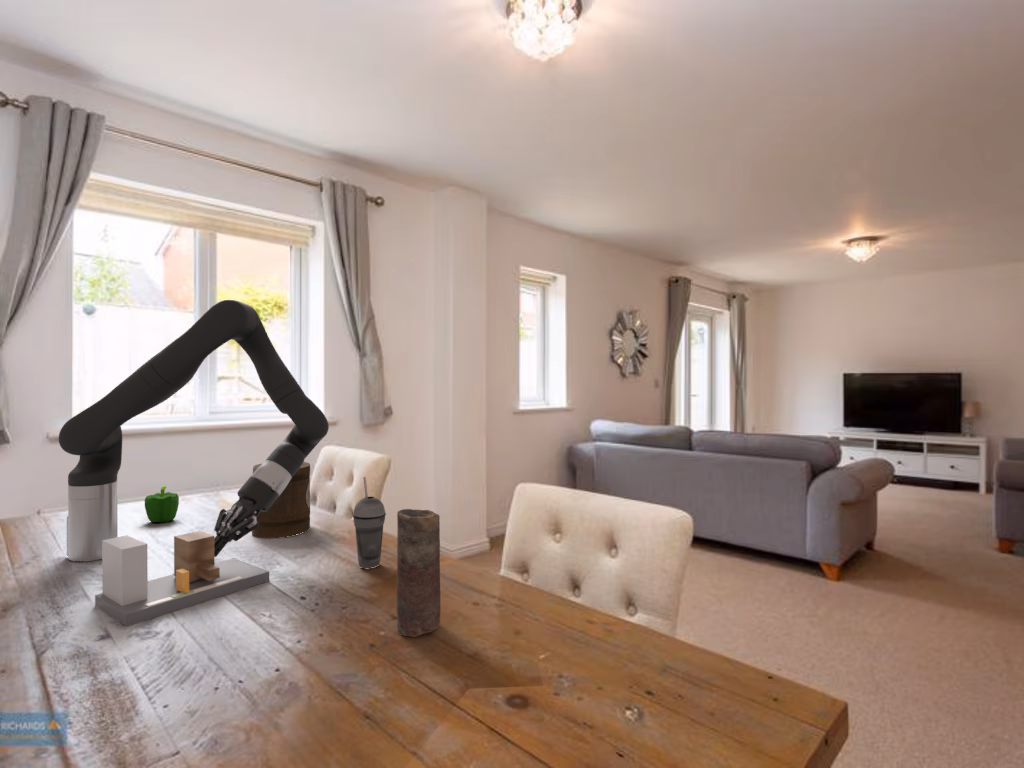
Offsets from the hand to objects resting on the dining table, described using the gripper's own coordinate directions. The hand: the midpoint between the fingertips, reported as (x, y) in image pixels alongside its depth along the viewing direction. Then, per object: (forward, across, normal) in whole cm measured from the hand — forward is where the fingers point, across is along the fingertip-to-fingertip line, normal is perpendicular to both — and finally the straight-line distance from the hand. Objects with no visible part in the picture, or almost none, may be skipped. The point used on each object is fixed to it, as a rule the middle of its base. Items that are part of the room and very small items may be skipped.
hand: (209, 554), depth 115 cm
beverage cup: (-14, +18, +23) cm, 32 cm away
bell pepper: (-6, -59, +15) cm, 62 cm away
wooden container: (-17, -23, +26) cm, 39 cm away
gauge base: (+8, +2, 0) cm, 8 cm away
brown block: (+5, +3, 0) cm, 5 cm away
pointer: (+8, +7, -3) cm, 11 cm away
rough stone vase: (-3, +50, +12) cm, 51 cm away
